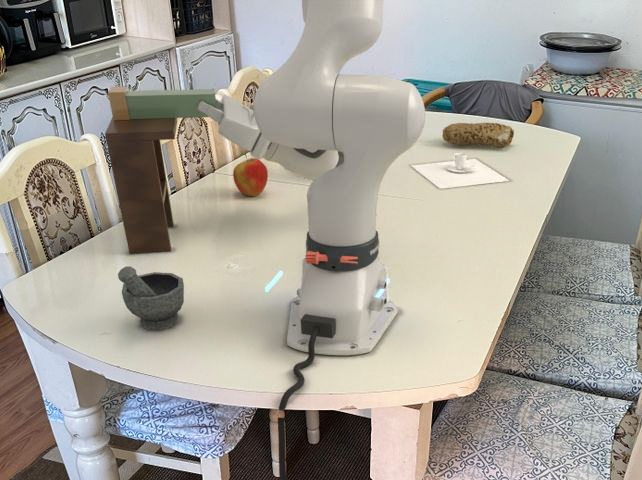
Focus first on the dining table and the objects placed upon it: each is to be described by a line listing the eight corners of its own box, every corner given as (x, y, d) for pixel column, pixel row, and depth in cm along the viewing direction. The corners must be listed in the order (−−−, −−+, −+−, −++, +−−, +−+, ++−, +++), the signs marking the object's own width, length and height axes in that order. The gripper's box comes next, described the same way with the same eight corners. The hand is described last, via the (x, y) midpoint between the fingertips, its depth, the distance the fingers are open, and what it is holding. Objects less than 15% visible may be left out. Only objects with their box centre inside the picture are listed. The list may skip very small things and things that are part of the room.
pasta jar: (217, 111, 143) (214, 84, 140) (217, 117, 138) (214, 90, 136) (116, 113, 139) (111, 86, 136) (113, 120, 134) (107, 92, 132)
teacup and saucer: (481, 173, 188) (482, 158, 186) (454, 176, 185) (455, 160, 183) (467, 163, 195) (468, 149, 193) (441, 166, 192) (441, 151, 190)
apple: (259, 202, 166) (255, 160, 161) (229, 197, 168) (224, 156, 163) (275, 191, 173) (272, 151, 167) (246, 187, 175) (242, 147, 169)
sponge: (511, 146, 214) (450, 126, 217) (518, 123, 208) (456, 102, 212) (499, 166, 205) (436, 144, 208) (506, 142, 199) (441, 120, 203)
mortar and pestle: (155, 303, 123) (143, 240, 117) (200, 314, 120) (190, 249, 114) (111, 333, 114) (95, 266, 108) (158, 345, 111) (145, 277, 105)
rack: (192, 224, 154) (176, 112, 141) (191, 250, 142) (173, 130, 130) (135, 227, 151) (113, 114, 139) (129, 254, 140) (104, 133, 127)
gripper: (266, 108, 152) (205, 75, 146) (273, 133, 135) (205, 98, 129) (253, 133, 154) (193, 103, 148) (259, 162, 138) (191, 128, 131)
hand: (198, 100), depth 139 cm, fingers closed on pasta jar, 4 cm apart
